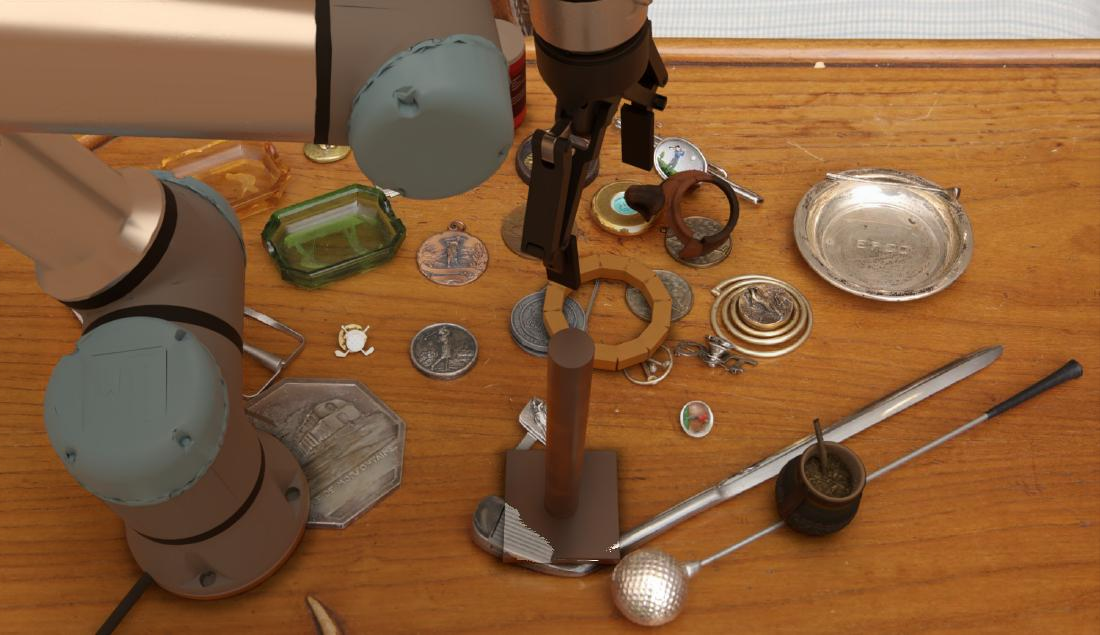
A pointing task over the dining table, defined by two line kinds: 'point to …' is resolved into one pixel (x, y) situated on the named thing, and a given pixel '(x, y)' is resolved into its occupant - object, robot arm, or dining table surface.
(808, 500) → the mate gourd
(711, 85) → the dining table surface
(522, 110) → the canned food
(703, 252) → the brown knobbed loop
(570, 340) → the holder
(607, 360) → the ring
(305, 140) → the robot arm
